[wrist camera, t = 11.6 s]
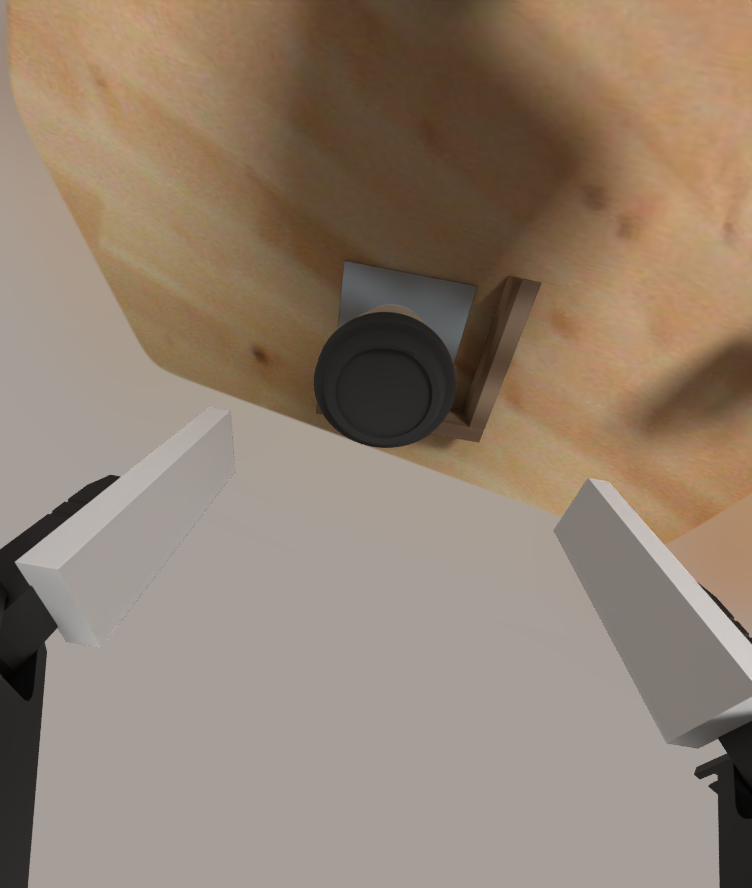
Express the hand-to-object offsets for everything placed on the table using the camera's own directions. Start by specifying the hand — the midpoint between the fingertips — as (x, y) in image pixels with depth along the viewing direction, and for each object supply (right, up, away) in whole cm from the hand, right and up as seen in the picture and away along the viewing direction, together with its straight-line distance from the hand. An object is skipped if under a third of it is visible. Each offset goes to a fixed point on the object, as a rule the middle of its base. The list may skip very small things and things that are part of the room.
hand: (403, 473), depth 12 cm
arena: (+3, +11, +20) cm, 23 cm away
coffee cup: (0, +11, +20) cm, 23 cm away
